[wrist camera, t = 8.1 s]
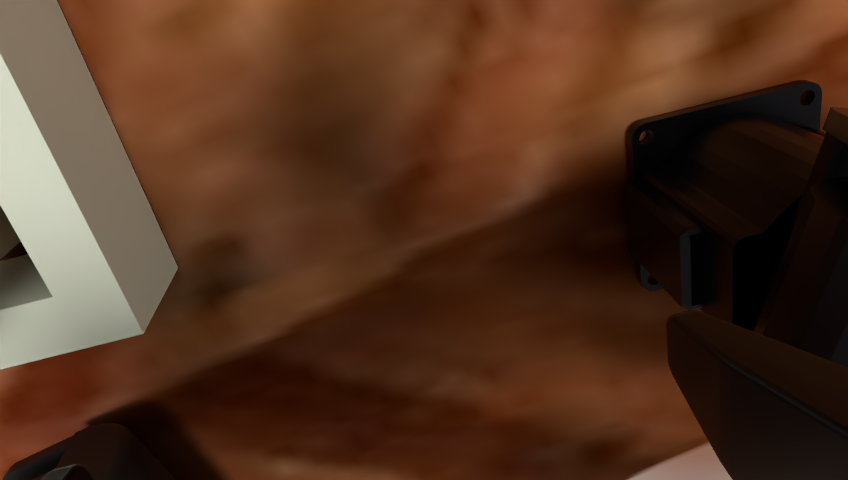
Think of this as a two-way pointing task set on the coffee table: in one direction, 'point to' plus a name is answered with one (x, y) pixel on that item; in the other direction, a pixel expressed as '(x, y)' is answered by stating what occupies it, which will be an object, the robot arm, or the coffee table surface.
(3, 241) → the beech peg
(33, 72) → the hole block
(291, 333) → the coffee table surface
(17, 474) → the end cap
